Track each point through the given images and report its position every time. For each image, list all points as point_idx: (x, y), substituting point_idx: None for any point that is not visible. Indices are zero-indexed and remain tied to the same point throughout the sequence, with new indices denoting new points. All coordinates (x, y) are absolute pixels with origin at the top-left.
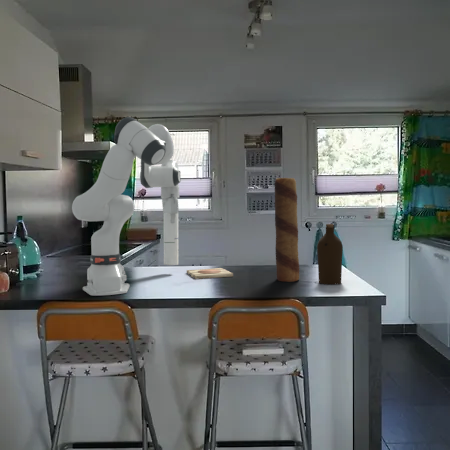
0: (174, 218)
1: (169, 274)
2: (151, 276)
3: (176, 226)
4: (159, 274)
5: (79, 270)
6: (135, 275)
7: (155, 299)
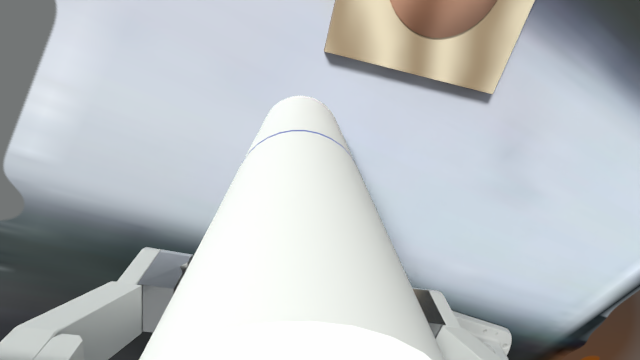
0: (476, 347)
1: None
2: None
3: (381, 221)
4: None
5: None
6: None
7: (621, 300)
